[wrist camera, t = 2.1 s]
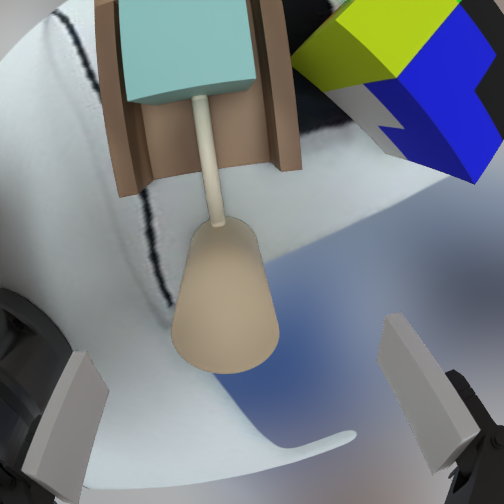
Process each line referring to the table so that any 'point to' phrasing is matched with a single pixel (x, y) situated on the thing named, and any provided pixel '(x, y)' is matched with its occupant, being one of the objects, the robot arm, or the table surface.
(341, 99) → the puzzle toy
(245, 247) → the toy hammer
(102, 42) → the shelf lane
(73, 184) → the table surface
